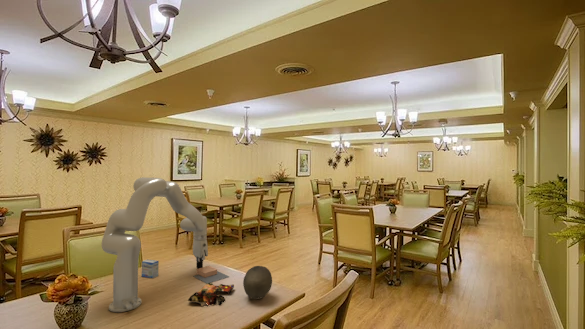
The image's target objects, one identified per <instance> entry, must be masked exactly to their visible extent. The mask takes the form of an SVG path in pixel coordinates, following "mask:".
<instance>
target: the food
mask: <svg viewBox="0 0 585 329" xmlns="http://www.w3.org/2000/svg"><path fill="white" fill-rule="evenodd" d="M234 288H235V284H229V285H228V284H227V285H226V284H223V283H220V284H219V285H215V284H213V283H208V284H206V283H205V285H203V287H202V288H201V289H200V290H199V291H196V292H194V293H193V294H192V295H190V297H189V298H188V300H187V301H188V302H190V303H198V304H200V306H201V307H204V306H207V307H208V306H213V305H212V304H214V305H216V304H217V305H219V306H222V305H221V304H223V303H225V302H226V297H225V296H223V295H221V294H220V293H219V294H218V292H221V293H222V292H227V293H228V294H227V296H228V295H231V293H232V292H233V291H232V290H234ZM224 301H225V302H224ZM206 303H207V304H208V305H207V304H206ZM217 305H216V306H217Z"/></svg>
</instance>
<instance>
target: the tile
mask: <svg viewBox="0 0 585 329" xmlns="http://www.w3.org/2000/svg"><path fill="white" fill-rule="evenodd" d="M217 271H218V269H217V268H215V267H212V266H210V265H207V266H203V268H199V269H197V268H196V275H200V276H202V277H204V278H205V277H209V276H212V275H215V274H217Z"/></svg>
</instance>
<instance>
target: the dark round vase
mask: <svg viewBox="0 0 585 329" xmlns="http://www.w3.org/2000/svg"><path fill="white" fill-rule="evenodd" d="M242 284H243V285H242V286H243V289H244V292H245V294H246V295H247V297H249V298H251V299H253V300H259V299H262V298H264V297H265V296H266V295H267V294H268V293H270V290H271V288H272V285H273V277H272V273H271V271H270V269H268V268H267V267H266V266H262V265H255V266H254V265H253V266H252V267H250V268H249V269H248V270H247V271H246V273H245V275H244V277H243V282H242Z"/></svg>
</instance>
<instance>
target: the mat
mask: <svg viewBox="0 0 585 329" xmlns="http://www.w3.org/2000/svg"><path fill="white" fill-rule="evenodd" d="M193 277H194V278H195V279H197V280H199V281H200V282H203V283H204V284H205V285H206V284H208V283H211V284H213V283H214V282H218V281H221V280H224V279H227V278H230V276H229V275H227V274H225V273H223V272H221V271H219V270H217V274H215V275H212V276H209V277H205V278H204V277H202V276H200V275H198V274H196V275H193Z"/></svg>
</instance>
